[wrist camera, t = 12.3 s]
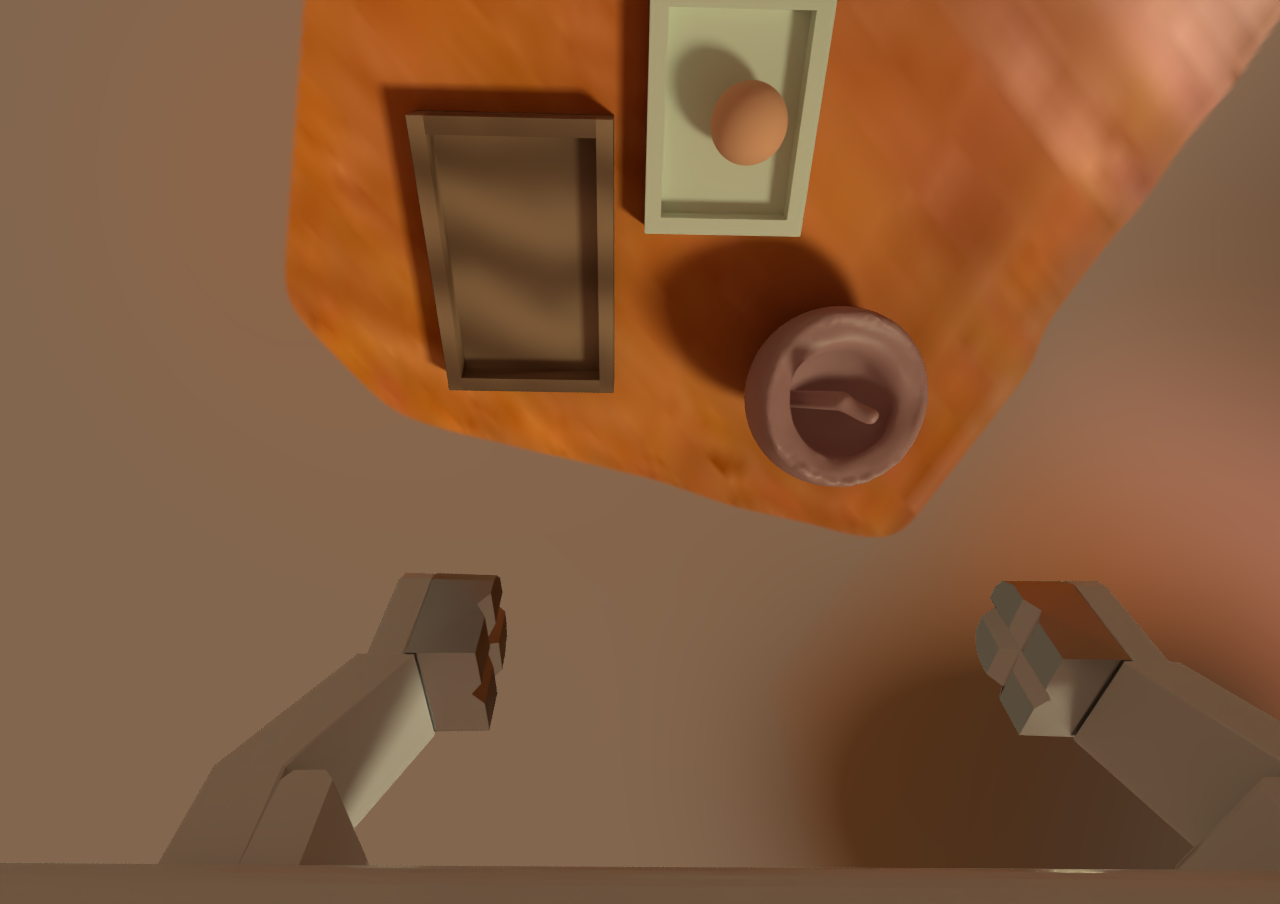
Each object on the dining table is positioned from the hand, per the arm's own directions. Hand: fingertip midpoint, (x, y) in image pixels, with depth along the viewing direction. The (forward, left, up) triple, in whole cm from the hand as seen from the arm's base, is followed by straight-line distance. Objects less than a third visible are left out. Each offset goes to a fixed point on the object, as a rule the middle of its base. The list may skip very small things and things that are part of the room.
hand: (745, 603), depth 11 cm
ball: (-3, +5, -34) cm, 34 cm away
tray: (-3, +4, -37) cm, 37 cm away
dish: (+6, -9, -37) cm, 38 cm away
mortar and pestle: (+13, +12, -37) cm, 41 cm away
